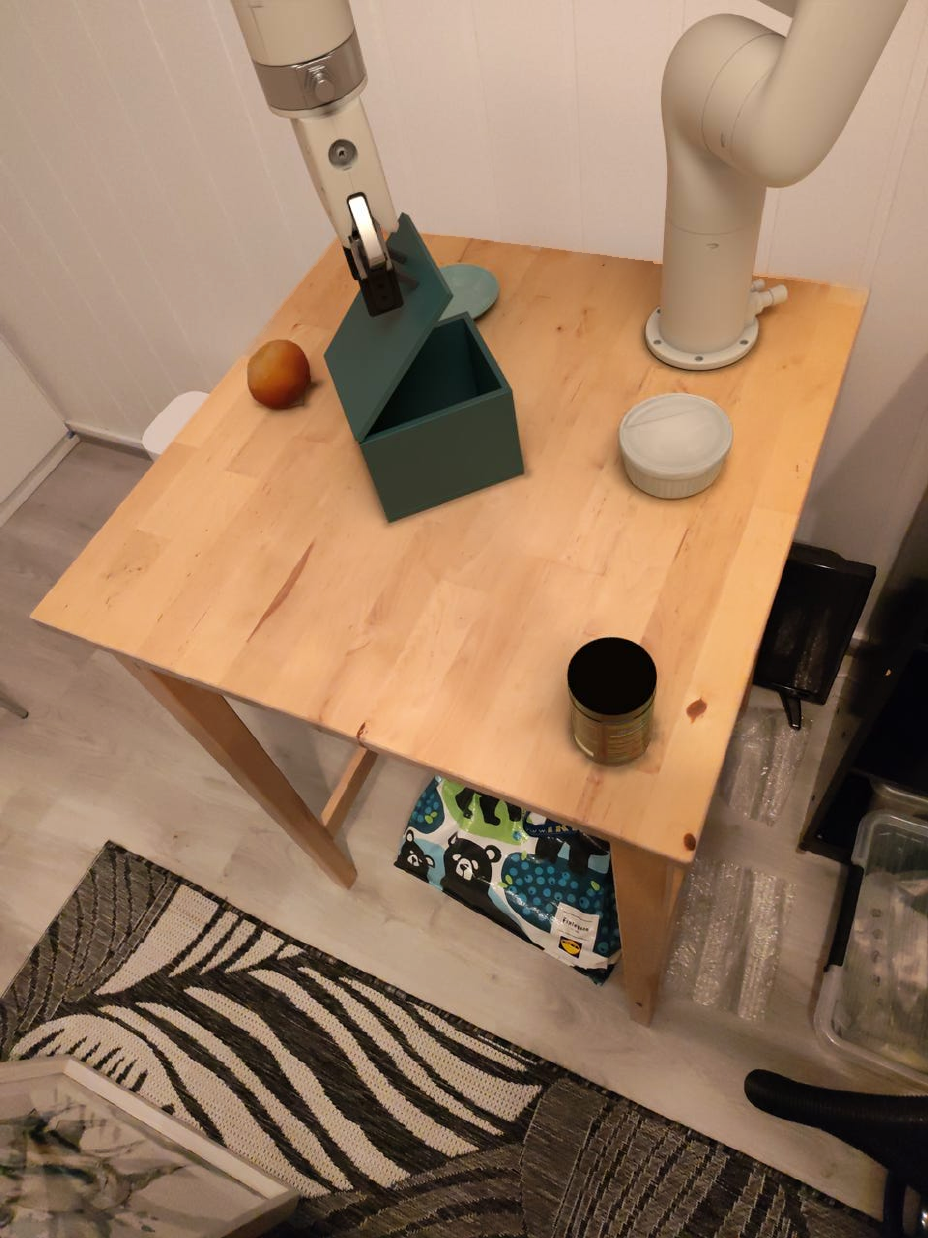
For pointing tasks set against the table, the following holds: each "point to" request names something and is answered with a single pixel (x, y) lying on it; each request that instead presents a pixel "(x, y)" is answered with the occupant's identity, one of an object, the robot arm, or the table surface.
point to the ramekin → (674, 444)
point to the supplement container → (612, 699)
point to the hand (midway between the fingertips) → (377, 289)
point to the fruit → (279, 374)
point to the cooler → (444, 425)
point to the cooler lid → (386, 332)
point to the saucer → (469, 289)
